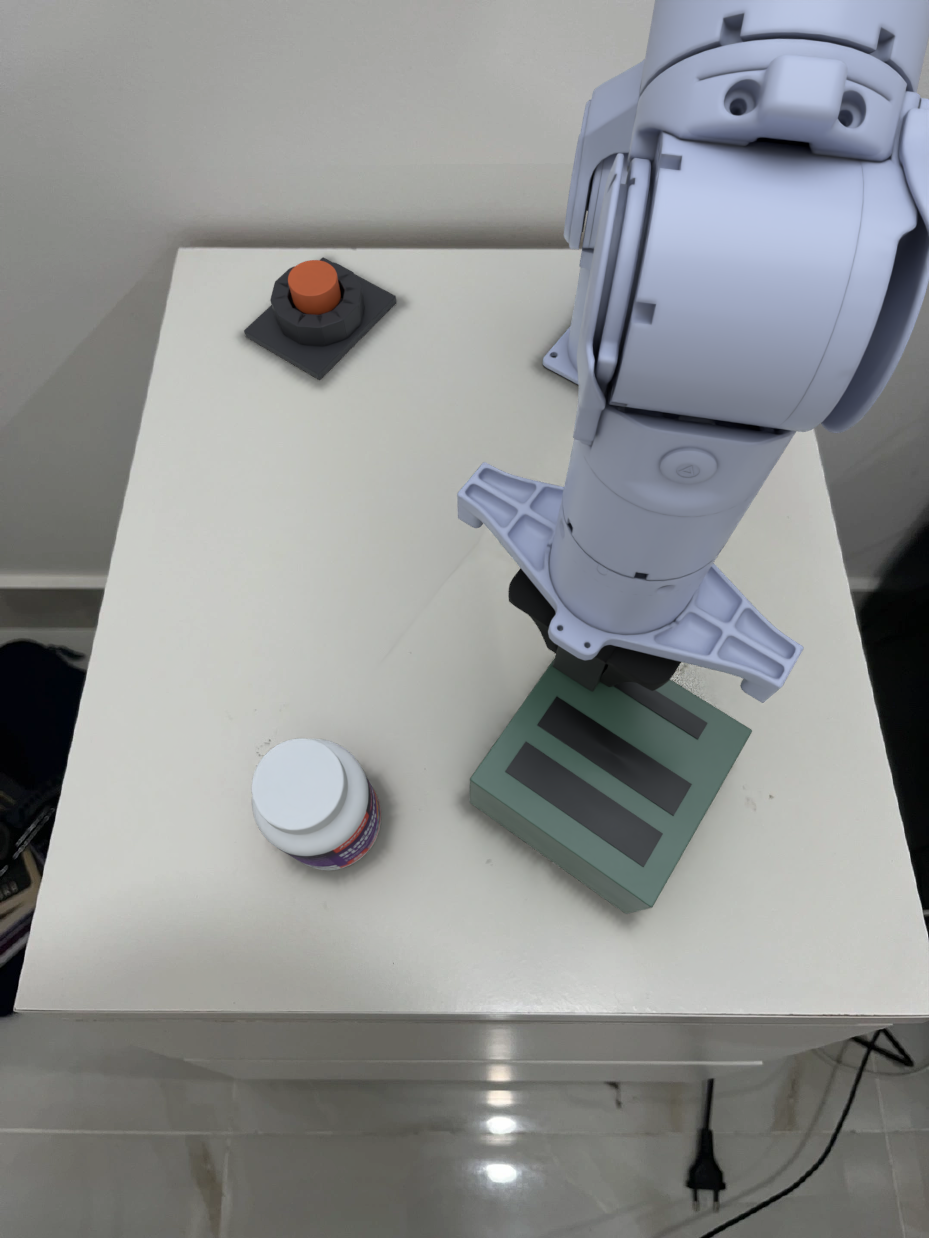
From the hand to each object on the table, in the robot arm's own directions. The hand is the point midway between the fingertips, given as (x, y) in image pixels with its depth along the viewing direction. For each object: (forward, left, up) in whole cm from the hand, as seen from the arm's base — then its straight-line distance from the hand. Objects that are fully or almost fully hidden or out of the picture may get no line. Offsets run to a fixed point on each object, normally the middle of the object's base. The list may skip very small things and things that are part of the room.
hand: (588, 652), depth 38 cm
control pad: (-14, -30, -7) cm, 34 cm away
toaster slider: (0, 0, -1) cm, 1 cm away
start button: (-14, -30, -5) cm, 34 cm away
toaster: (+3, +4, -7) cm, 8 cm away
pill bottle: (+13, -7, -7) cm, 17 cm away
